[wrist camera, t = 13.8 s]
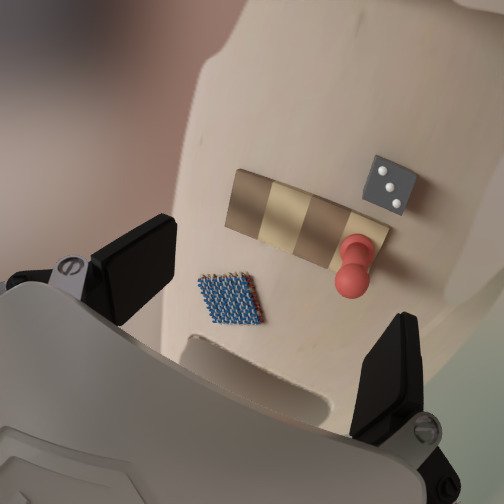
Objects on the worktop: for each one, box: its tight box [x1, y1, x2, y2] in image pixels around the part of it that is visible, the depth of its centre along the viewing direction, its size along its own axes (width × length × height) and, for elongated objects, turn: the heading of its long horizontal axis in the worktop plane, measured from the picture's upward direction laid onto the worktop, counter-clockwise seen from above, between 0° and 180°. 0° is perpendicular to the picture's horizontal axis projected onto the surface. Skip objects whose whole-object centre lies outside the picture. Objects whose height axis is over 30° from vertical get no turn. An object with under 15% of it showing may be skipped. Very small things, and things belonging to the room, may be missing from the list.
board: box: [225, 169, 389, 273], centre depth 38 cm, size 9×22×1 cm, turn 76°
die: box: [362, 155, 417, 216], centre depth 30 cm, size 5×5×5 cm
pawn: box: [335, 234, 374, 299], centre depth 31 cm, size 5×5×10 cm
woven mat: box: [198, 271, 264, 326], centre depth 49 cm, size 10×11×2 cm
